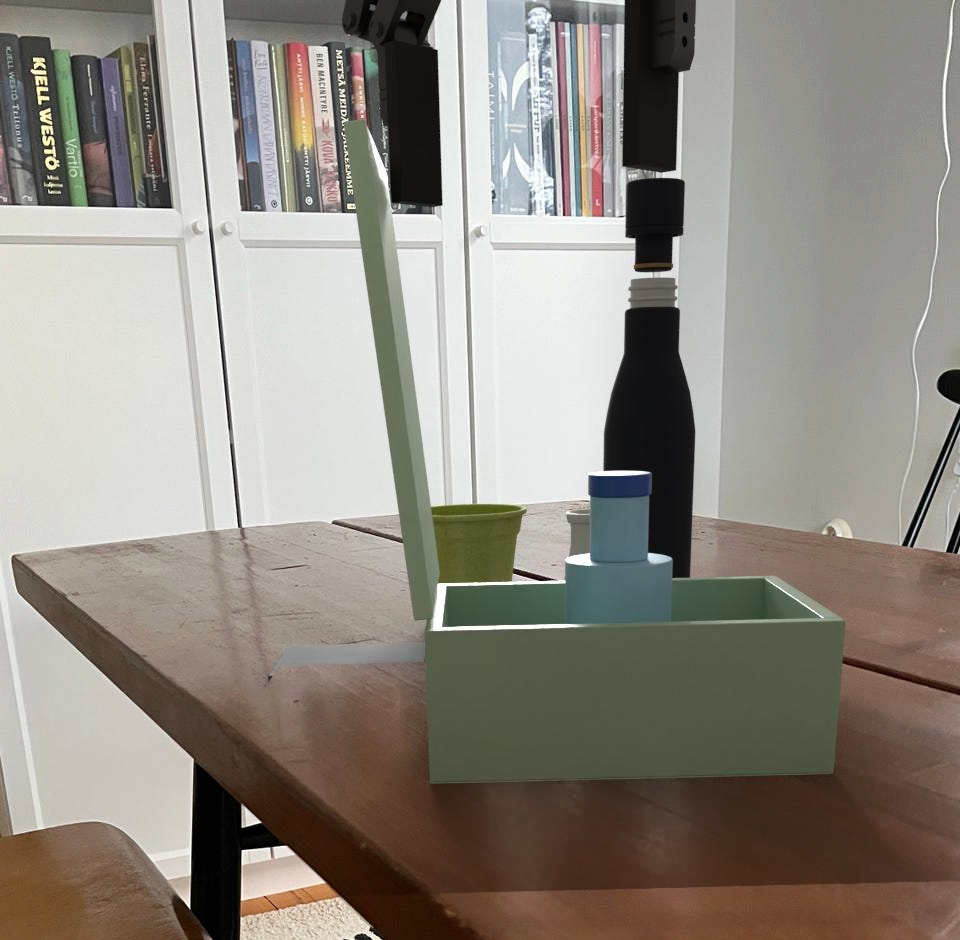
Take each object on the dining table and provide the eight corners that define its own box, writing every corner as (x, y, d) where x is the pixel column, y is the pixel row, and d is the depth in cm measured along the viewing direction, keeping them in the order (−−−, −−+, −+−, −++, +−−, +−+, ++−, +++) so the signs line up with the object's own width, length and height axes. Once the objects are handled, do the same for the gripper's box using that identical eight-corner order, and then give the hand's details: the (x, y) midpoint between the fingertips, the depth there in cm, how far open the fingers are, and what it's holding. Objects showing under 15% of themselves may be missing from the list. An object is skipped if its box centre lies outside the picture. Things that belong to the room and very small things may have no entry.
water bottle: (659, 723, 67) (666, 467, 62) (674, 751, 62) (683, 475, 57) (561, 726, 67) (561, 470, 62) (568, 753, 62) (569, 478, 57)
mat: (427, 648, 91) (427, 642, 91) (423, 679, 81) (422, 672, 81) (289, 652, 91) (288, 645, 91) (268, 683, 81) (267, 676, 81)
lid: (386, 172, 61) (369, 174, 61) (364, 118, 49) (342, 121, 49) (440, 574, 68) (424, 575, 68) (433, 618, 55) (414, 621, 55)
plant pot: (409, 633, 97) (405, 516, 94) (412, 611, 105) (407, 504, 102) (531, 629, 97) (530, 513, 94) (523, 608, 106) (522, 501, 103)
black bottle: (583, 635, 94) (586, 184, 83) (640, 624, 98) (650, 191, 87) (648, 647, 89) (660, 171, 79) (705, 634, 93) (724, 179, 83)
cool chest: (767, 715, 71) (775, 575, 68) (832, 789, 58) (846, 620, 55) (437, 723, 71) (432, 583, 68) (430, 799, 58) (423, 630, 56)
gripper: (241, -342, 54) (280, 211, 61) (746, -664, 38) (716, 138, 45) (371, -283, 59) (393, 221, 67) (865, -544, 43) (820, 159, 50)
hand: (524, 189), depth 56 cm, fingers open, 13 cm apart
